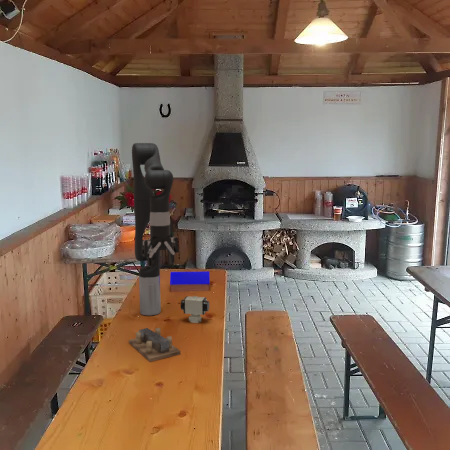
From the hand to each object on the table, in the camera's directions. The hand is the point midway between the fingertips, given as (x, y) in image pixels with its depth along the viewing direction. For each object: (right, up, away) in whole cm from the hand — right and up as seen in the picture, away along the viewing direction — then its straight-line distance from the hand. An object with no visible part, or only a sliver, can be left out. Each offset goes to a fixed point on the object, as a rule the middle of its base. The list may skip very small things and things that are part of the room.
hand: (161, 265), depth 182 cm
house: (+6, -20, +66) cm, 70 cm away
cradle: (-2, -31, -3) cm, 31 cm away
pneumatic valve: (+12, -27, +24) cm, 38 cm away
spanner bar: (-2, -30, -3) cm, 30 cm away
